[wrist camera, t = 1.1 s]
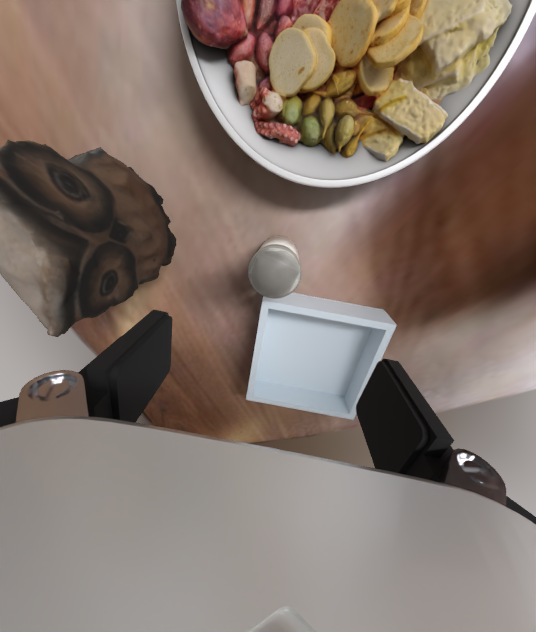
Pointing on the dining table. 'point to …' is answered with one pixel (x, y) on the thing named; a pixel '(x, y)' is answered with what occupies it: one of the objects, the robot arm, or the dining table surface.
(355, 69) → the bowl
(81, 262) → the owl
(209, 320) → the dining table surface
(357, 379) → the tote
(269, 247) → the canister
